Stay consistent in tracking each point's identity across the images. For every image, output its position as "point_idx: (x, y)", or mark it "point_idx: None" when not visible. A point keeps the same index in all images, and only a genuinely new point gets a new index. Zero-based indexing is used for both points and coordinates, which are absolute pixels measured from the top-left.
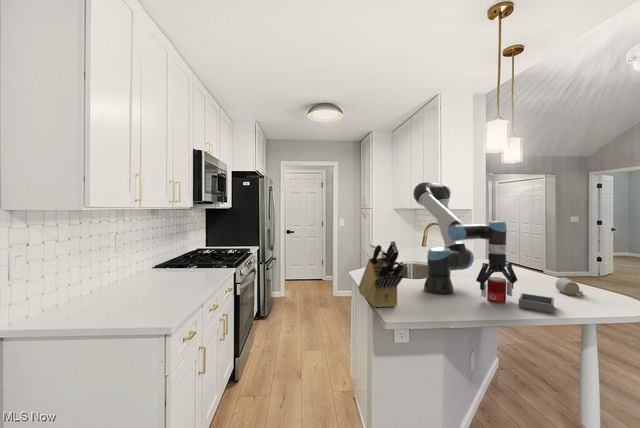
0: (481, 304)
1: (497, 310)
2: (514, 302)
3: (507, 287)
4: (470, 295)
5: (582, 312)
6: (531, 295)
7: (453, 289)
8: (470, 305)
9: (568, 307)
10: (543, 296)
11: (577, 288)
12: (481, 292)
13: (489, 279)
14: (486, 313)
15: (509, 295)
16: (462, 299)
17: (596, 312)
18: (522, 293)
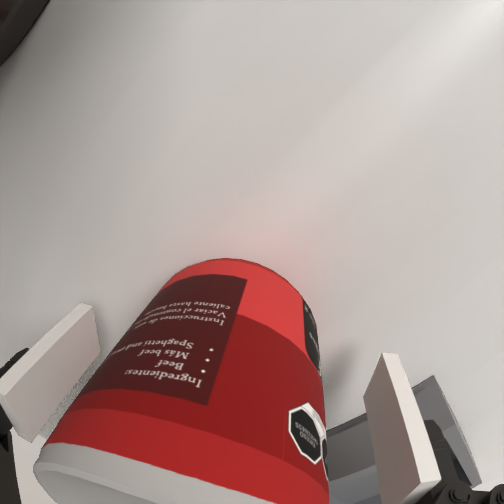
0: None
1: None
2: (357, 387)
3: (397, 426)
4: (106, 105)
5: None
6: (455, 453)
7: (25, 7)
8: (15, 328)
9: (499, 451)
10: (474, 471)
11: None
12: (61, 321)
13: (49, 488)
14: (55, 420)
15: (369, 387)
16: (5, 213)
17: (497, 478)
18: (450, 431)
